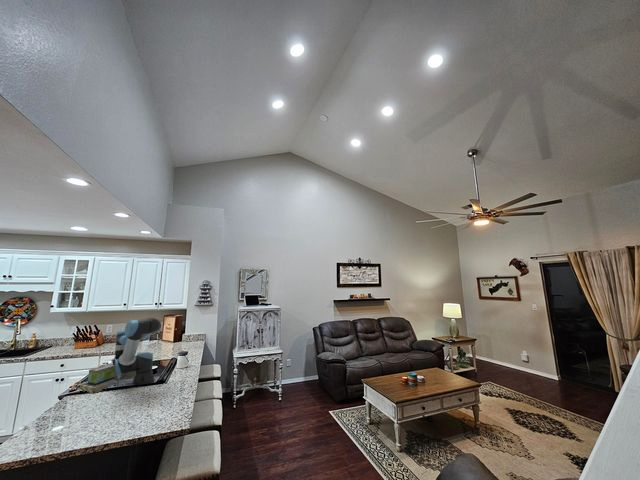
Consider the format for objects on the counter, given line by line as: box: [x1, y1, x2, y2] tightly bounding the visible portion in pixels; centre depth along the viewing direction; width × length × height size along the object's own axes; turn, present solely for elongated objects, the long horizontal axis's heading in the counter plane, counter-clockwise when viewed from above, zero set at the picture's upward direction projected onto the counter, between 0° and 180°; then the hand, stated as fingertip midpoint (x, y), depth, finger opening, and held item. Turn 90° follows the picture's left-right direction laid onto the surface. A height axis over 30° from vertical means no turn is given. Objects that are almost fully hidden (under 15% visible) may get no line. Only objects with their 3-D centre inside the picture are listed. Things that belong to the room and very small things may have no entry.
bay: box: [79, 381, 109, 394], centre depth 218 cm, size 18×10×4 cm, turn 67°
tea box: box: [87, 363, 116, 387], centre depth 225 cm, size 15×10×15 cm
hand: (118, 377), depth 236 cm, fingers closed
